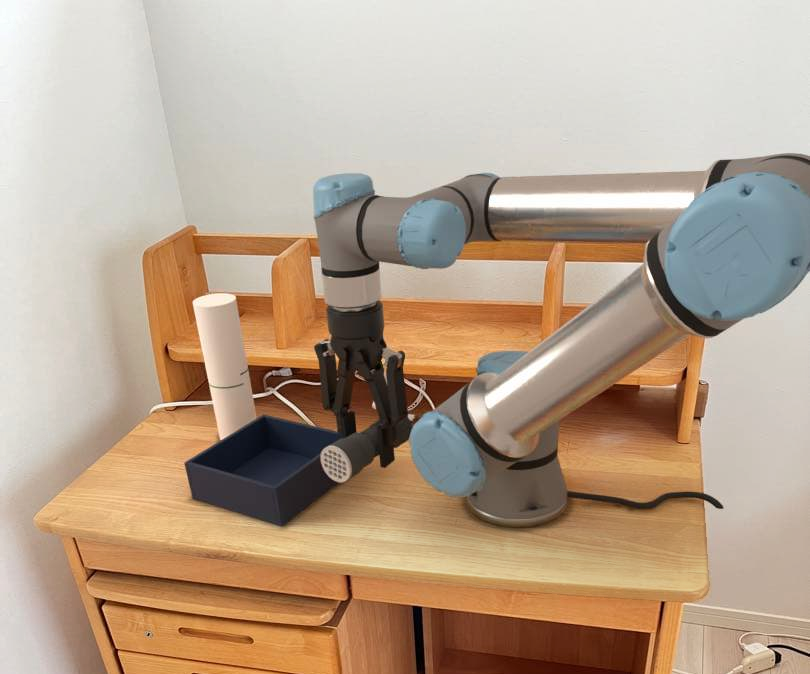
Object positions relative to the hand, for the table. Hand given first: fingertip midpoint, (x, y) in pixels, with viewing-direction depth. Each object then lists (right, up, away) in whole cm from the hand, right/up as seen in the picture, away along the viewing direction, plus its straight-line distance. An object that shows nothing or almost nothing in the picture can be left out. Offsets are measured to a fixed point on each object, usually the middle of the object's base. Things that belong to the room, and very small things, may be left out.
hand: (369, 458), depth 121 cm
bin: (-16, -3, +14) cm, 21 cm away
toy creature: (+4, +9, +30) cm, 31 cm away
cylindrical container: (-25, +7, +30) cm, 40 cm away
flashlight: (0, 0, 0) cm, 1 cm away
